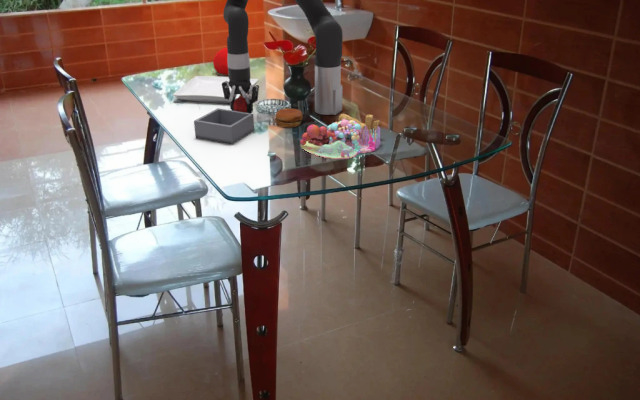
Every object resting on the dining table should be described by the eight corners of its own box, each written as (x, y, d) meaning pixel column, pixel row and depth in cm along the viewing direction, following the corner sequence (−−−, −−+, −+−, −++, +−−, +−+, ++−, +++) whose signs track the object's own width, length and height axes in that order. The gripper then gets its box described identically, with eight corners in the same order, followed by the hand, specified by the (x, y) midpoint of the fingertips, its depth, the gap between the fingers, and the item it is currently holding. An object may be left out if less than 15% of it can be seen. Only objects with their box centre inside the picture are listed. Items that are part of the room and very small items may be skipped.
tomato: (219, 84, 275) (245, 79, 283) (226, 63, 266) (253, 59, 273) (206, 63, 280) (232, 59, 287) (212, 41, 270) (240, 38, 278)
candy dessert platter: (322, 128, 219) (322, 102, 215) (388, 137, 212) (389, 110, 208) (293, 154, 199) (292, 126, 194) (365, 165, 191) (366, 136, 187)
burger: (288, 130, 217) (287, 117, 215) (269, 123, 223) (269, 110, 221) (309, 123, 223) (309, 110, 221) (290, 117, 229) (290, 104, 227)
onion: (247, 119, 225) (246, 97, 221) (231, 118, 226) (230, 96, 222) (252, 114, 230) (251, 92, 226) (237, 113, 231) (235, 91, 228)
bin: (254, 130, 216) (253, 113, 213) (232, 144, 205) (230, 127, 202) (219, 124, 221) (217, 108, 219) (195, 138, 210) (193, 120, 207)
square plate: (242, 107, 239) (241, 97, 238) (172, 103, 243) (171, 93, 242) (259, 86, 263) (259, 77, 262) (195, 83, 267) (195, 74, 265)
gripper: (262, 64, 220) (264, 111, 228) (226, 60, 226) (230, 106, 233) (251, 70, 214) (254, 118, 222) (215, 65, 219) (218, 112, 227)
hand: (241, 112), depth 227 cm, fingers closed on onion, 6 cm apart
